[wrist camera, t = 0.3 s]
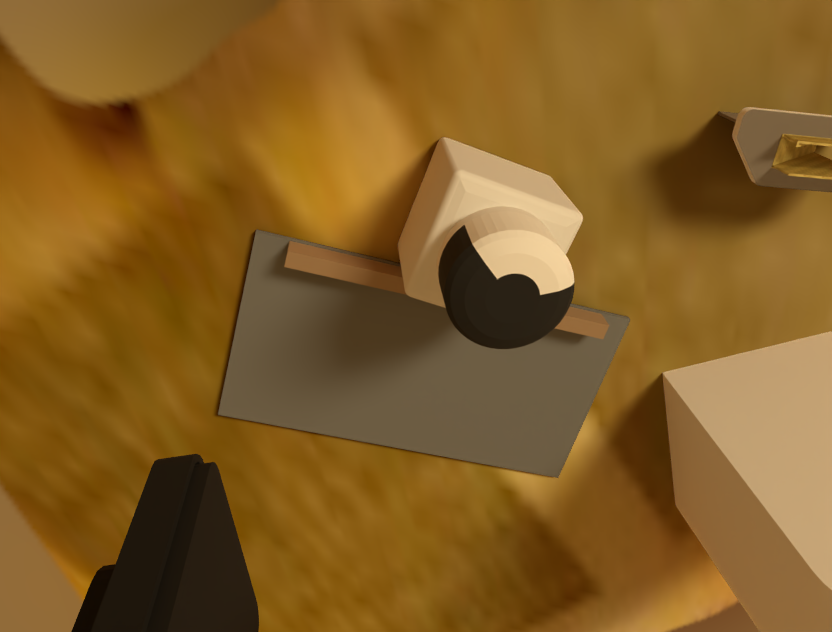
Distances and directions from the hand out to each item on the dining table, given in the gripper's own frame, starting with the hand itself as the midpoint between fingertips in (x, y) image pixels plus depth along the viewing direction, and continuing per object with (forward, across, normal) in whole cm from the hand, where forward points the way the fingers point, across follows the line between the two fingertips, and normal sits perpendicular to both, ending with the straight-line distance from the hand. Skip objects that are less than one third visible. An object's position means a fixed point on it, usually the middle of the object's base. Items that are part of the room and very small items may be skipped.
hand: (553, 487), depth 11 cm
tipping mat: (+34, +1, +18) cm, 38 cm away
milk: (+34, -22, +26) cm, 48 cm away
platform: (+34, -22, +6) cm, 41 cm away
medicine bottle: (+34, -3, +8) cm, 35 cm away
